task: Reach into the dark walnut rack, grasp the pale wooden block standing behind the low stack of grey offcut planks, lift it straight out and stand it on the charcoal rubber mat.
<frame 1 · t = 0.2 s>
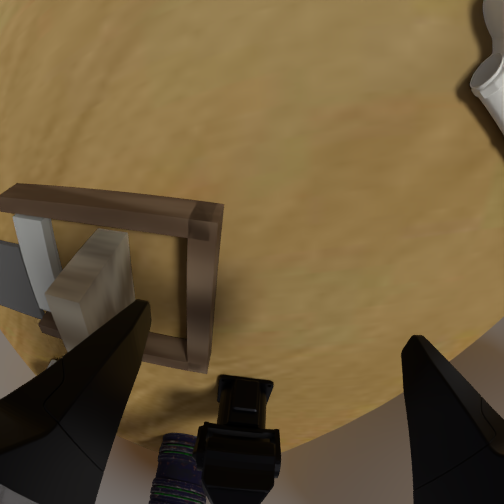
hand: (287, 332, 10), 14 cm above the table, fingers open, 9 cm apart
rack: (109, 274, 27), on the table
dark blue cylinder: (188, 441, 50), on the table
pale wooden block: (118, 275, 28), resting in rack
mat: (4, 275, 29), on the table
offcut top: (44, 263, 27), resting on offcut bottom
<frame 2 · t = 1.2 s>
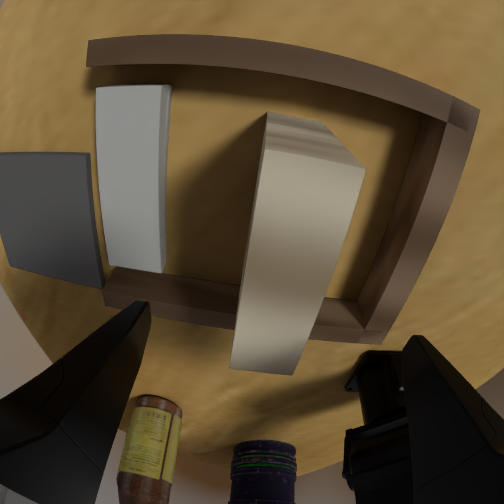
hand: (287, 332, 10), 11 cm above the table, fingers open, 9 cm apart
rack: (262, 194, 19), on the table
sauce bottle: (161, 405, 34), on the table
dark blue cylinder: (264, 449, 41), on the table
pale wooden block: (279, 196, 19), resting in rack
mat: (41, 217, 20), on the table
offcut bottom: (141, 173, 19), on the table, touching offcut top
offcut top: (134, 180, 18), resting on offcut bottom
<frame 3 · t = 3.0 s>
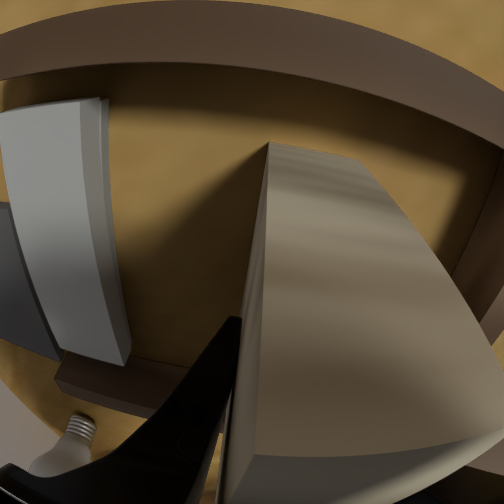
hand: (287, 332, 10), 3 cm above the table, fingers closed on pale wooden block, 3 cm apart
rack: (259, 271, 12), on the table
lightbulb: (86, 415, 23), on the table
pale wooden block: (285, 275, 12), resting in rack, touching gripper
offcut bottom: (83, 233, 12), on the table, touching offcut top
offcut top: (71, 246, 11), resting on offcut bottom
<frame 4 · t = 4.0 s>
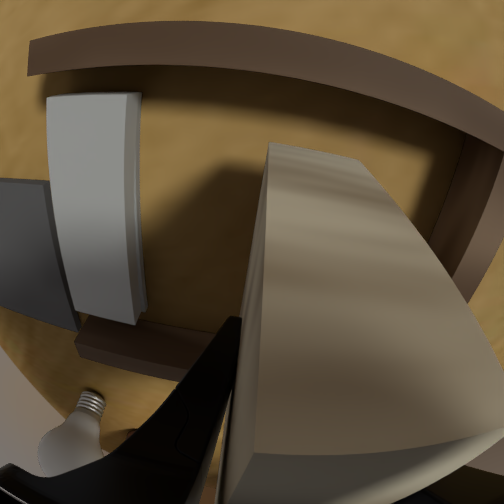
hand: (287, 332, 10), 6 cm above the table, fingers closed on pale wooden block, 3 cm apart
rack: (262, 235, 15), on the table
lightbulb: (96, 392, 25), on the table
pale wooden block: (285, 274, 12), point 3 cm above the table, touching gripper
mat: (6, 251, 16), on the table
offcut bottom: (110, 206, 15), on the table, touching offcut top
offcut top: (99, 214, 14), resting on offcut bottom
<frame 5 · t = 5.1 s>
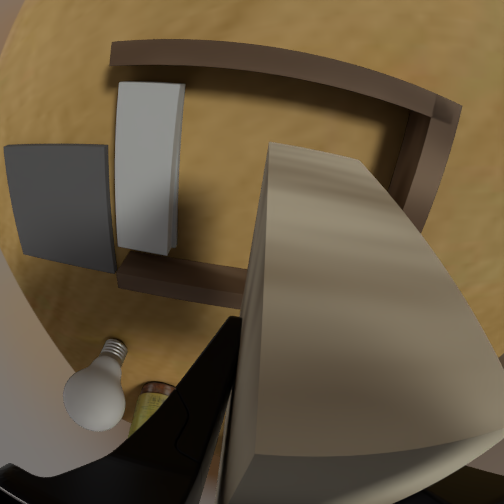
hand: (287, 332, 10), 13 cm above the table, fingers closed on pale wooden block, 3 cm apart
rack: (266, 183, 20), on the table
sauce bottle: (166, 392, 36), on the table
lightbulb: (119, 341, 31), on the table
pale wooden block: (285, 275, 12), point 10 cm above the table, touching gripper
mat: (57, 206, 22), on the table
offcut bottom: (155, 164, 21), on the table, touching offcut top
offcut top: (148, 168, 20), resting on offcut bottom
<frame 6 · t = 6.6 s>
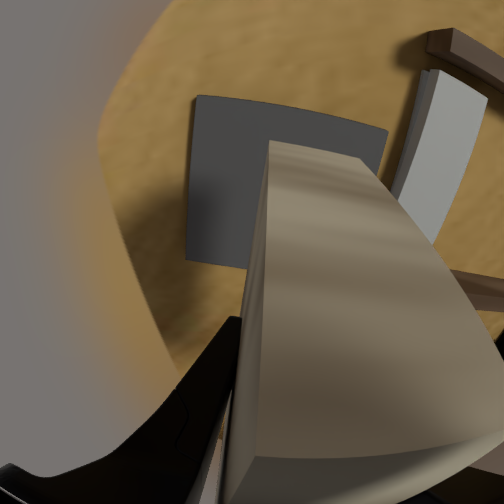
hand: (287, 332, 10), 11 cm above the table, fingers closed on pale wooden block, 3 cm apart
rack: (502, 195, 17), on the table
pale wooden block: (285, 274, 12), point 8 cm above the table, touching gripper
mat: (279, 194, 19), on the table
offcut bottom: (420, 162, 18), on the table, touching offcut top
offcut top: (429, 166, 17), resting on offcut bottom
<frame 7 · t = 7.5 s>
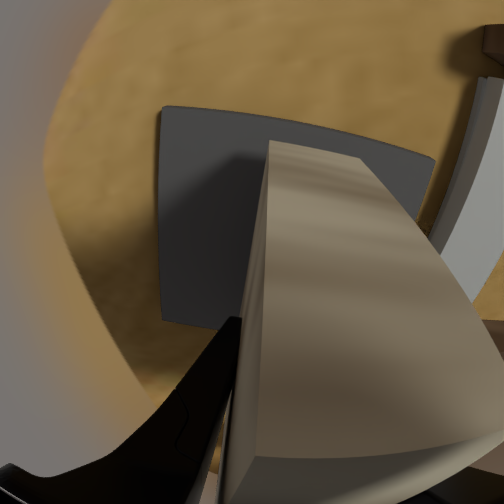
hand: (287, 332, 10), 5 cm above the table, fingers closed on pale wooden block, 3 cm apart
pale wooden block: (285, 274, 12), point 2 cm above the table, touching gripper
mat: (281, 244, 14), on the table
offcut bottom: (465, 198, 13), on the table, touching offcut top
offcut top: (478, 207, 12), resting on offcut bottom
when the fingers open (4 cm above the table, at t = 8.4 s): pale wooden block stays where it is, resting on mat.
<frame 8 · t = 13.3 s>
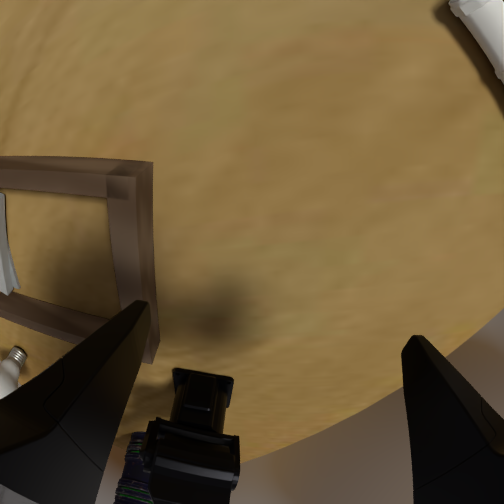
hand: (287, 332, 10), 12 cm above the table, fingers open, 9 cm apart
rack: (50, 249, 23), on the table
lightbulb: (22, 349, 34), on the table
dark blue cylinder: (157, 442, 46), on the table
offcut bottom: (0, 233, 24), on the table, touching offcut top
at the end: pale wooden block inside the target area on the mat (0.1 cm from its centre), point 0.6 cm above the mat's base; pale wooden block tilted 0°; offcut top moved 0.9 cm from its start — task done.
